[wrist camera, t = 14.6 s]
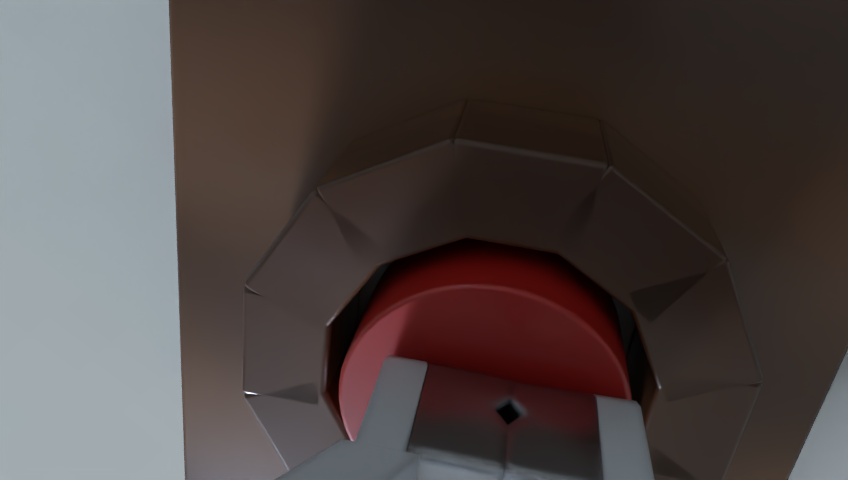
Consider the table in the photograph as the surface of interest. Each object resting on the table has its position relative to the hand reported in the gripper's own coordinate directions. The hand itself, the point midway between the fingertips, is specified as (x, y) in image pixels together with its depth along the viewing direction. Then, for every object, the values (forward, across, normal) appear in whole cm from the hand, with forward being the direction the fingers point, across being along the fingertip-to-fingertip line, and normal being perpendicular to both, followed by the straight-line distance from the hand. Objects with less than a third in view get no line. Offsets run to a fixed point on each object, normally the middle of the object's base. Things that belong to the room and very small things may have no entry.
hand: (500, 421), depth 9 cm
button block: (+4, 0, 0) cm, 5 cm away
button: (+2, 0, 0) cm, 2 cm away
